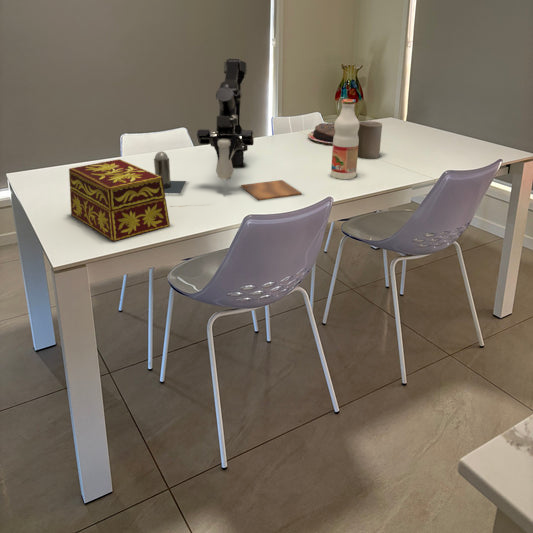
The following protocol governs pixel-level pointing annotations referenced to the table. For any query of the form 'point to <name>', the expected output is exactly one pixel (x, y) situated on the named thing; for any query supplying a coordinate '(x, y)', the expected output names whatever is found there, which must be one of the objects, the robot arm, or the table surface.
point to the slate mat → (175, 187)
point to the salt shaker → (224, 160)
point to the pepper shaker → (163, 168)
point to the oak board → (270, 190)
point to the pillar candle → (369, 139)
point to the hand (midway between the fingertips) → (223, 159)
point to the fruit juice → (345, 142)
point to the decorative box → (118, 199)
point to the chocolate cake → (323, 133)
